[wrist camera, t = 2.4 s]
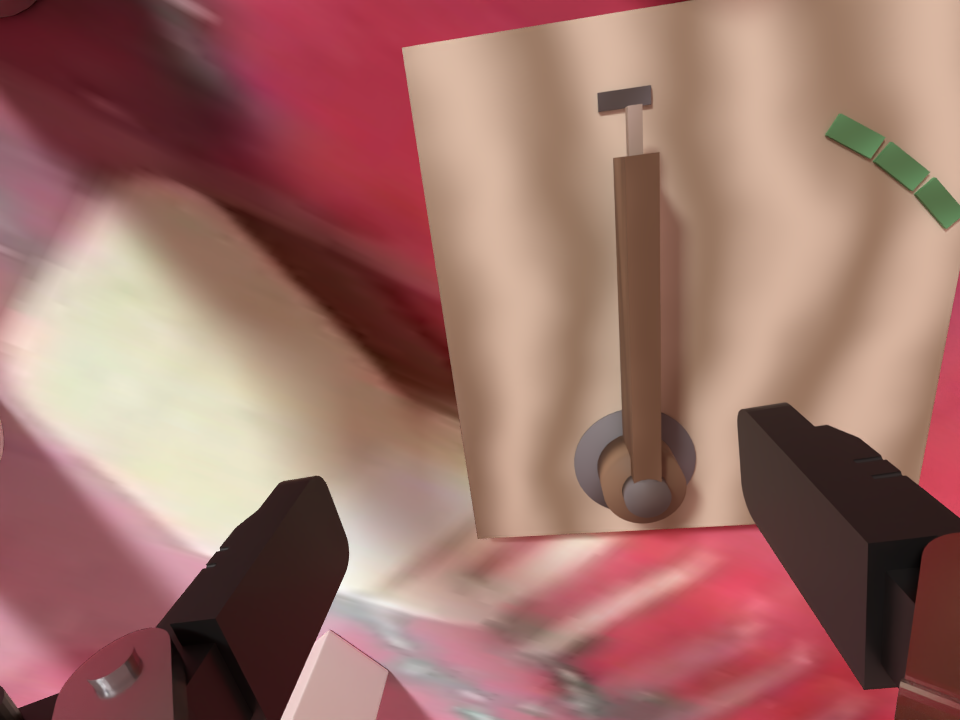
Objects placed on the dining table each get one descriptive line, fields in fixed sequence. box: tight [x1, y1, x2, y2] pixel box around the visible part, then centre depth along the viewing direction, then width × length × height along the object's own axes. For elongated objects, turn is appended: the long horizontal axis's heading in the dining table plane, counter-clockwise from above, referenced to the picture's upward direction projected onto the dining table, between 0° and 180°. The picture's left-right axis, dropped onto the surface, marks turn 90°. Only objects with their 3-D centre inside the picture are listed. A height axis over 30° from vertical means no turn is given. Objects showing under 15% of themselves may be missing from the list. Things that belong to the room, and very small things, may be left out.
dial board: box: [402, 0, 960, 539], centre depth 28 cm, size 26×28×2 cm
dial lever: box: [597, 104, 687, 523], centre depth 26 cm, size 4×21×3 cm, turn 7°
